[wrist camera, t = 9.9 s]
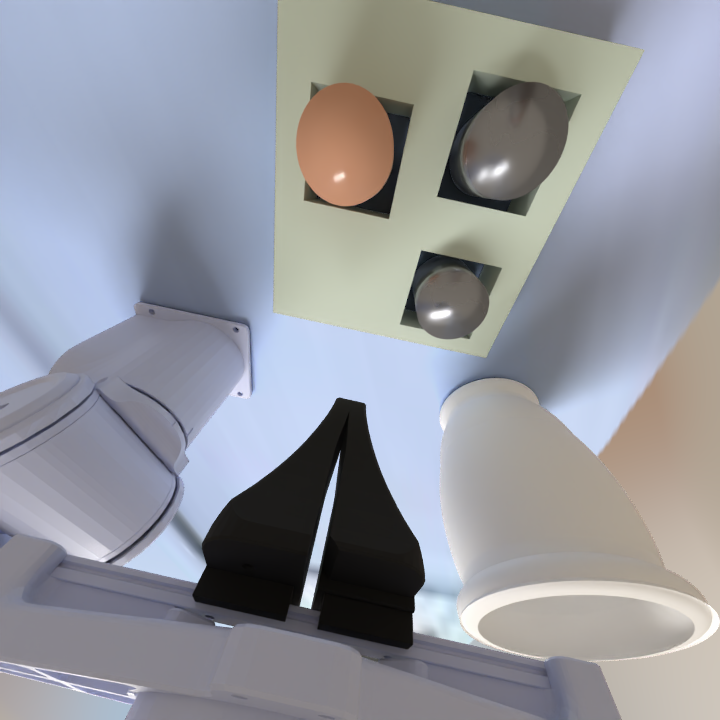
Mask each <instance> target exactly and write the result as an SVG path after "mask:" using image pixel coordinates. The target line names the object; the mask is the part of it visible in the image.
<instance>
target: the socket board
mask: <svg viewBox="0 0 720 720" xmlns="http://www.w3.org/2000/svg"><path fill="white" fill-rule="evenodd" d="M643 52H644V50H643V49H639V48H634V47H630V46H626V45H621V44H617V43H612V42H608V41H604V40H599V39H595V38H591V37H586V36H582V35H578V34H573V33H569V32H565V31H560V30H556V29H552V28H547V27H543V26H539V25H534V24H530V23H526V22H521V21H517V20H512V19H508V18H504V17H499V16H495V15H491V14H486V13H482V12H478V11H473V10H469V9H465V8H460V7H456V6H452V5H447V4H443V3H439V2H434V1H430V0H278V22H277V91H276V160H275V230H274V299H273V313H278V314H282V315H287V316H292V317H297V318H301V319H306V320H311V321H315V322H320V323H325V324H329V325H334V326H339V327H343V328H348V329H353V330H357V331H362V332H367V333H371V334H376V335H381V336H385V337H390V338H395V339H399V340H404V341H409V342H414V343H418V344H423V345H428V346H432V347H437V348H442V349H446V350H451V351H456V352H460V353H465V354H470V355H474V356H479V357H484V358H486V357H487V355H488V353H489V351H490V349H491V347H492V345H493V343H494V341H495V339H496V337H497V335H498V333H499V331H500V329H501V327H502V326H503V324H504V322H505V320H506V318H507V316H508V314H509V312H510V310H511V308H512V306H513V304H514V302H515V300H516V298H517V296H518V295H519V293H520V291H521V289H522V287H523V285H524V283H525V281H526V279H527V277H528V275H529V273H530V271H531V269H532V267H533V265H534V263H535V262H536V260H537V258H538V256H539V254H540V252H541V250H542V248H543V246H544V244H545V242H546V240H547V238H548V236H549V234H550V232H551V231H552V229H553V227H554V225H555V223H556V221H557V219H558V217H559V215H560V213H561V211H562V209H563V207H564V205H565V203H566V201H567V199H568V198H569V196H570V194H571V192H572V190H573V188H574V186H575V184H576V182H577V180H578V178H579V176H580V174H581V172H582V170H583V168H584V167H585V165H586V163H587V161H588V159H589V157H590V155H591V153H592V151H593V149H594V147H595V145H596V143H597V141H598V139H599V137H600V135H601V134H602V132H603V130H604V128H605V126H606V124H607V122H608V120H609V118H610V116H611V114H612V112H613V110H614V108H615V106H616V104H617V102H618V101H619V99H620V97H621V95H622V93H623V91H624V89H625V87H626V85H627V83H628V81H629V79H630V77H631V75H632V73H633V71H634V70H635V68H636V66H637V64H638V62H639V60H640V58H641V56H642V54H643ZM524 82H540V83H543V84H546V85H548V86H550V87H552V88H553V89H554V90H555V91H557V92H558V94H559V95H560V96H561V97H562V99H563V101H564V103H565V106H566V109H567V113H568V123H569V127H568V136H567V141H566V144H565V148H564V150H563V153H562V155H561V157H560V159H559V161H558V163H557V165H556V166H555V168H554V169H553V171H552V172H551V173H550V175H549V176H548V177H547V178H546V179H545V180H544V181H543V182H542V183H541V184H540V185H539V186H538V187H537V188H535V189H534V190H532V191H531V192H529V193H527V194H526V195H523V196H521V197H519V198H515V199H512V200H511V202H510V204H509V207H508V209H507V212H505V211H501V210H496V209H492V208H487V207H482V206H478V205H473V204H469V203H464V202H460V201H455V200H451V199H446V198H442V197H437V195H438V191H439V188H440V184H441V181H442V177H443V174H444V171H445V167H446V164H447V160H448V157H449V153H450V150H451V146H452V143H453V140H454V136H455V133H456V129H457V126H458V122H459V119H460V115H461V112H462V109H463V105H464V102H465V98H466V95H467V92H472V93H476V94H481V95H485V96H489V97H494V98H495V97H496V96H497V95H499V94H500V93H501V92H503V91H504V90H506V89H508V88H510V87H512V86H514V85H517V84H520V83H524ZM336 83H352V84H355V85H358V86H361V87H363V88H365V89H366V90H368V91H369V92H370V93H372V94H373V95H374V96H375V97H376V98H377V99H378V101H379V102H380V103H381V105H382V106H383V108H384V109H385V111H386V112H387V113H392V114H396V115H400V116H405V117H409V118H410V123H409V127H408V132H407V136H406V141H405V146H404V150H403V155H402V159H401V164H400V169H399V173H398V178H397V183H396V187H395V192H394V196H393V201H392V206H391V210H390V214H386V213H381V212H377V211H372V210H368V209H363V208H359V207H354V206H338V205H334V204H331V203H329V202H327V201H325V200H322V199H318V198H316V197H317V194H316V193H315V192H314V191H313V190H312V189H311V187H310V186H309V185H308V183H307V182H306V180H305V178H304V176H303V174H302V172H301V169H300V166H299V163H298V158H297V151H296V136H297V129H298V124H299V121H300V118H301V115H302V113H303V111H304V109H305V107H306V105H307V104H308V102H309V101H310V100H311V99H312V97H313V96H314V95H316V94H317V93H318V92H319V91H320V90H322V89H323V88H325V87H327V86H330V85H332V84H336ZM421 250H423V251H427V252H432V253H436V254H441V255H445V256H450V257H455V258H459V259H464V260H468V261H473V262H478V263H482V264H484V266H483V269H482V271H481V273H480V276H479V278H478V279H479V280H480V281H481V282H482V284H483V285H484V286H485V288H486V290H487V292H488V295H489V309H488V312H487V315H486V317H485V319H484V320H483V322H482V323H481V324H480V325H479V327H478V328H476V329H475V330H474V331H473V332H471V333H470V334H468V335H466V336H463V337H460V338H457V339H440V338H436V337H434V336H432V335H430V334H428V333H427V332H426V331H425V330H424V329H423V328H422V326H421V325H420V323H419V321H418V318H417V313H416V311H412V310H407V309H404V308H405V305H406V301H407V298H408V294H409V291H410V288H411V284H412V281H413V277H414V274H415V270H416V267H417V263H418V260H419V257H420V253H421Z"/></svg>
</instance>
